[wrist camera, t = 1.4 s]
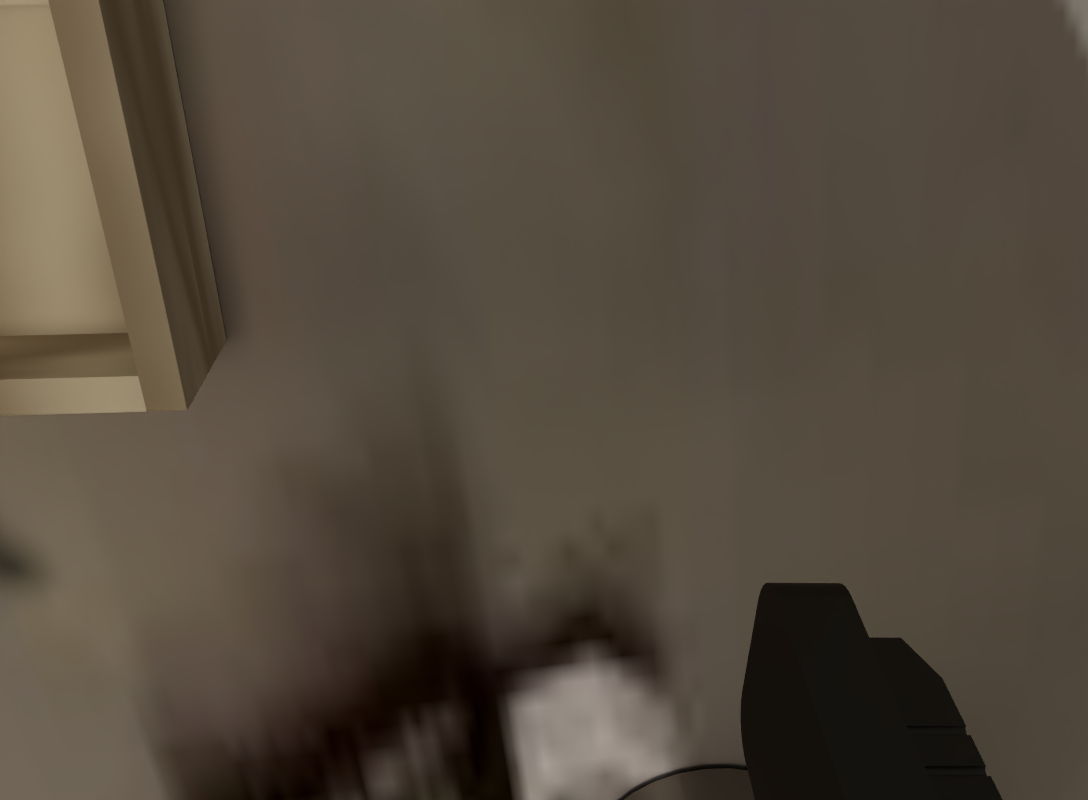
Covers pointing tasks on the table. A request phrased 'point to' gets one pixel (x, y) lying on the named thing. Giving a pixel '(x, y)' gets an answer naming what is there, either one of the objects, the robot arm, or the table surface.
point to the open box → (98, 215)
